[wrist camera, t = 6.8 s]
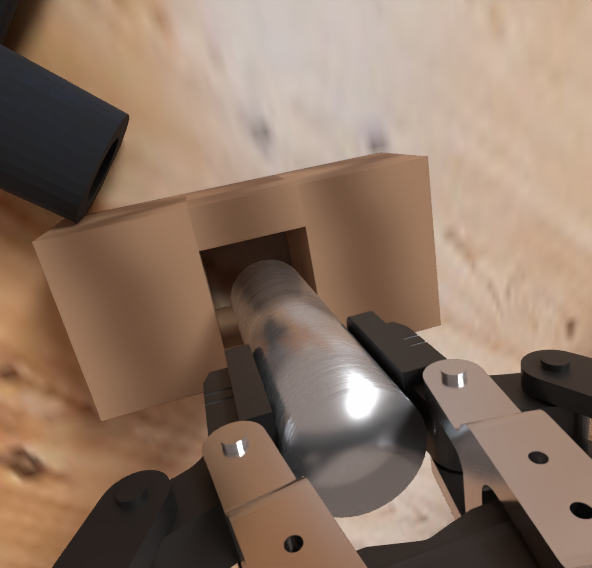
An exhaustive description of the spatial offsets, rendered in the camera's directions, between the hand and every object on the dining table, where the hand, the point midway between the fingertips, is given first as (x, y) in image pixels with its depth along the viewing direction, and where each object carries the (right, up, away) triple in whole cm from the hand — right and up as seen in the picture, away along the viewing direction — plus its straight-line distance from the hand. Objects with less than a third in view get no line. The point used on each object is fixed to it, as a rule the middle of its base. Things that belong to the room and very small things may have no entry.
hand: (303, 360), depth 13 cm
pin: (-1, +2, +5) cm, 6 cm away
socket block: (-3, +3, +11) cm, 12 cm away
